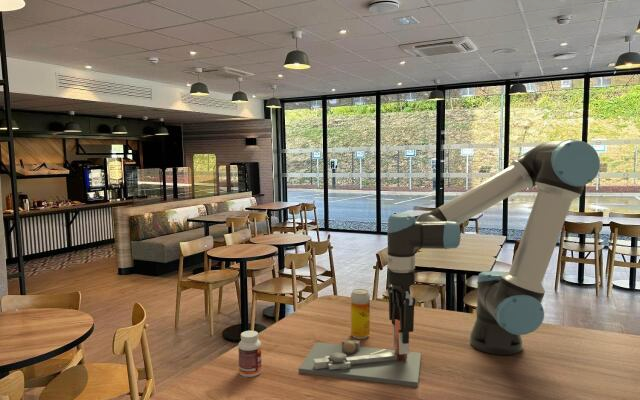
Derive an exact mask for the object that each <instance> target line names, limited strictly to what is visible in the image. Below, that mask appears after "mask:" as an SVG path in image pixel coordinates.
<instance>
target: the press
mask: <svg viewBox="0 0 640 400" xmlns="http://www.w3.org/2000/svg"><path fill="white" fill-rule="evenodd" d="M360 342H361V341H360V340H356V339H355V340H354V339H346V338H345V339H344V338H343V339H342V342H341V344H338V343H337V344H336V343H330V342H329V343H327V342H318V341H316V342H315V343H314V344H313V346H312V347H311V349H310V350H309V352H308V354H307V355H306V356H305V358H304V360H303V361H302V363H301V364H300V366H299V368H298V373H300V374H306V375H307V374H308V375H314V376H315V375H316V376H324V377H325V376H326V377H333V378H343V379H349V380H357V381H366V382H373V383H383V384H390V385H400V386H407V387H415V388H418V386H419V379H420V378H419V377H420V369H421V360H422V359H421V358H422V353H421V352H416V351H409V354H407V359H406V360H403V361H401V360H389V361H379V362H369V363H359V364H351V367H350V368H340V369H330V370H329V368H322V369H315V367H314V359H319V358H325V356H330V360H331V362H330V363H340V362H345V354H346V357H354V356H365V355H375V354H385V353H395V349H387V348H374V347H367V346H365V347H364V346H361V343H360Z"/></svg>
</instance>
